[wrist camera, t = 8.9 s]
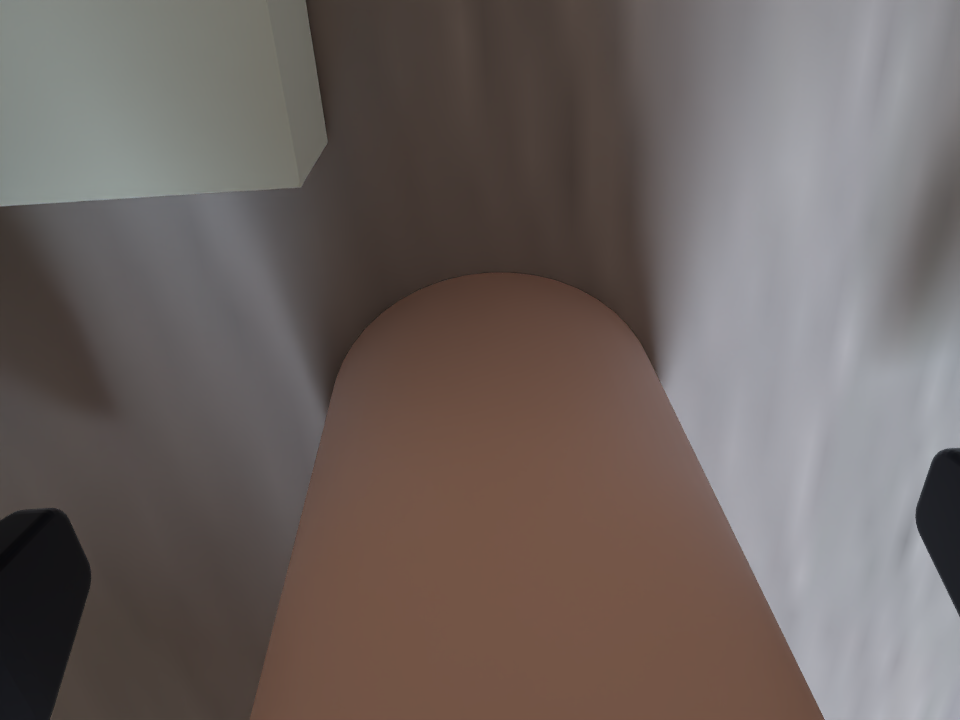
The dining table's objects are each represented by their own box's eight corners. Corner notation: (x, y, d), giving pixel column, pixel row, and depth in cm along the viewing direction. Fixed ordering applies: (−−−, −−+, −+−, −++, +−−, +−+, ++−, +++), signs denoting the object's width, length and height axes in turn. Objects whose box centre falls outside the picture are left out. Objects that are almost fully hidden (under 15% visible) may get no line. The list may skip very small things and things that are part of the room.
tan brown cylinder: (646, 532, 10) (965, 1472, 4) (355, 551, 10) (211, 1529, 4) (670, 260, 8) (1437, 1350, 2) (304, 284, 8) (-193, 1474, 2)
